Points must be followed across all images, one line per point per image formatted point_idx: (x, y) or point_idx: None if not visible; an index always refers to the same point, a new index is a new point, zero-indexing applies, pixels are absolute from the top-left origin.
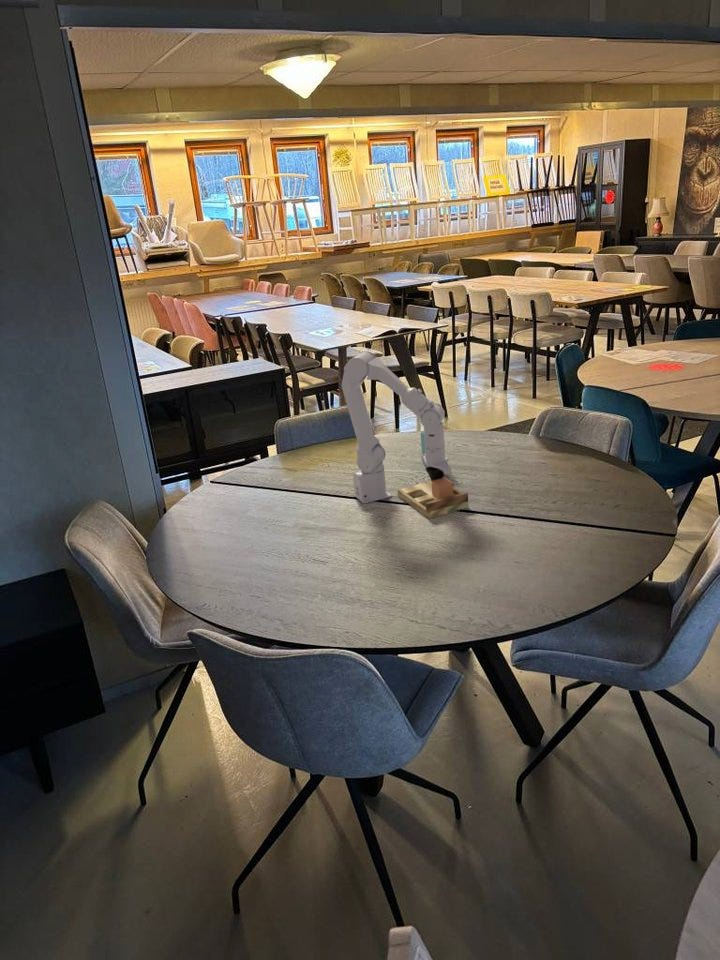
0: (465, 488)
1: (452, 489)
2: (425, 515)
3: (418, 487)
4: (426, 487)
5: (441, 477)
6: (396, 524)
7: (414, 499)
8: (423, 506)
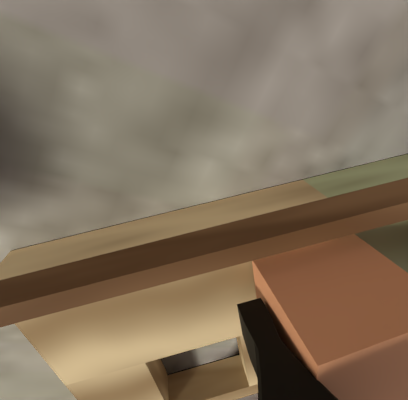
0: (120, 42)
1: (395, 266)
2: None
3: (110, 371)
4: (126, 339)
5: (319, 398)
6: None
7: None
8: None
